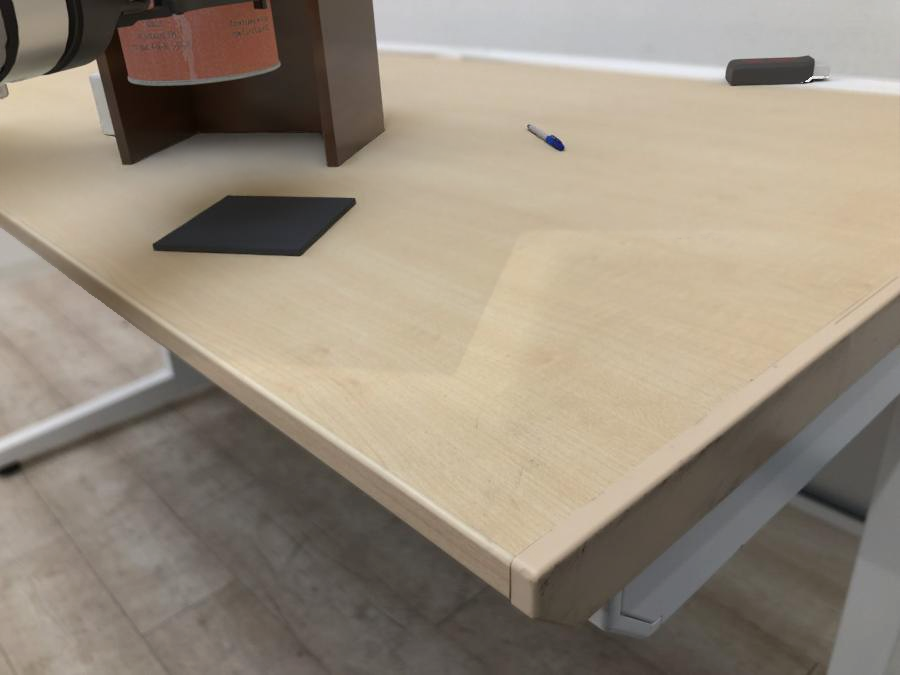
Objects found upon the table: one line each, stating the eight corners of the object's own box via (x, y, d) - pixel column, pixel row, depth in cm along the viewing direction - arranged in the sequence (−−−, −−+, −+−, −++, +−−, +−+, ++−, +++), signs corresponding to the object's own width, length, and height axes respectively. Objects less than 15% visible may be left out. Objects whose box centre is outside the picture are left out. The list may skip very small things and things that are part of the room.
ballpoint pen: (567, 151, 79) (567, 141, 79) (559, 152, 79) (559, 142, 79) (531, 129, 88) (530, 120, 88) (523, 130, 88) (523, 120, 88)
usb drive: (724, 78, 107) (727, 56, 106) (819, 75, 105) (823, 53, 104) (730, 85, 103) (733, 63, 102) (830, 82, 101) (833, 59, 100)
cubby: (121, 164, 85) (63, -72, 74) (194, 130, 97) (152, -75, 87) (338, 166, 79) (306, -89, 69) (385, 130, 92) (364, -90, 81)
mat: (153, 250, 61) (151, 243, 60) (228, 200, 71) (227, 194, 71) (300, 255, 58) (299, 249, 57) (356, 203, 68) (355, 197, 68)
